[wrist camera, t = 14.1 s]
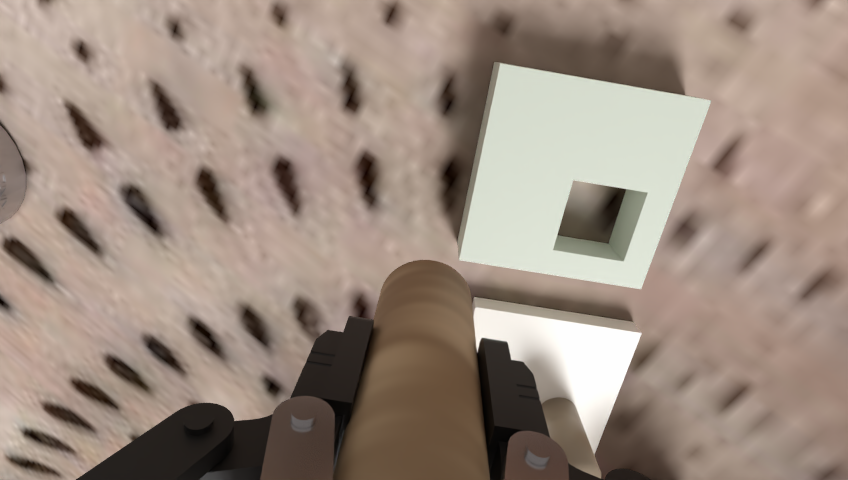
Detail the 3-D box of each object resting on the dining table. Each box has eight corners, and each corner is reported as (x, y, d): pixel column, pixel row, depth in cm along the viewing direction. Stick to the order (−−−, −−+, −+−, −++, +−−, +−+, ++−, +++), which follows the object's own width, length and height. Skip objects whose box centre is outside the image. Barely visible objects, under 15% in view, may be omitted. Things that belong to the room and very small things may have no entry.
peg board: (457, 242, 34) (459, 260, 31) (494, 61, 29) (500, 63, 27) (624, 269, 34) (640, 289, 32) (685, 95, 30) (711, 100, 27)
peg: (374, 333, 18) (295, 656, 8) (386, 252, 16) (309, 525, 7) (462, 347, 18) (481, 682, 8) (479, 268, 16) (524, 557, 7)
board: (444, 424, 40) (446, 504, 33) (474, 296, 36) (483, 358, 29) (587, 445, 40) (618, 528, 33) (633, 321, 36) (680, 388, 29)
